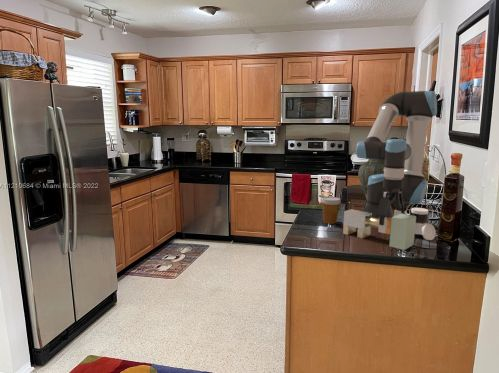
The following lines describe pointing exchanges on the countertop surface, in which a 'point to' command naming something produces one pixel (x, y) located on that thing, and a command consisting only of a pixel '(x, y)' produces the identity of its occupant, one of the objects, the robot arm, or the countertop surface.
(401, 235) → the socket block
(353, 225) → the white blocky legged figure
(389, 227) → the cylinder on square base
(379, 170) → the vase
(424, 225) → the flanged pipe fitting
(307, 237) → the countertop surface
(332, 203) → the disposable coffee cup
